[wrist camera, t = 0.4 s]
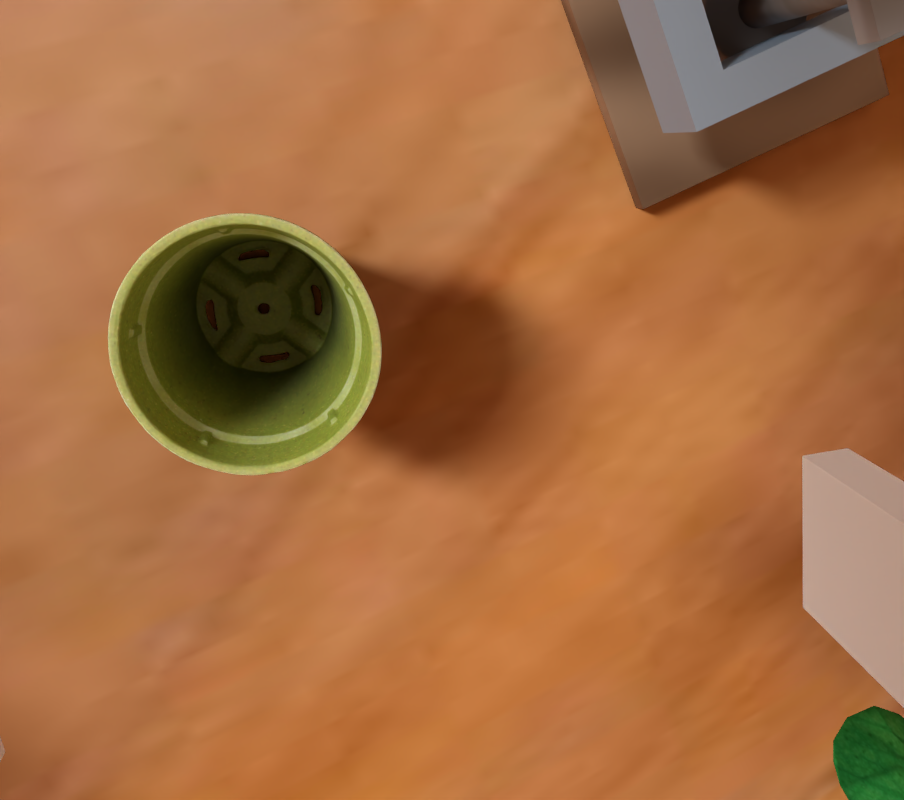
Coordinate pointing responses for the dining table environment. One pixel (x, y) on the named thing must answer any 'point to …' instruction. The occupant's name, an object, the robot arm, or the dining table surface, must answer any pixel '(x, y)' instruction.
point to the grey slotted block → (728, 60)
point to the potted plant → (871, 755)
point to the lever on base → (743, 134)
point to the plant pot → (244, 345)
